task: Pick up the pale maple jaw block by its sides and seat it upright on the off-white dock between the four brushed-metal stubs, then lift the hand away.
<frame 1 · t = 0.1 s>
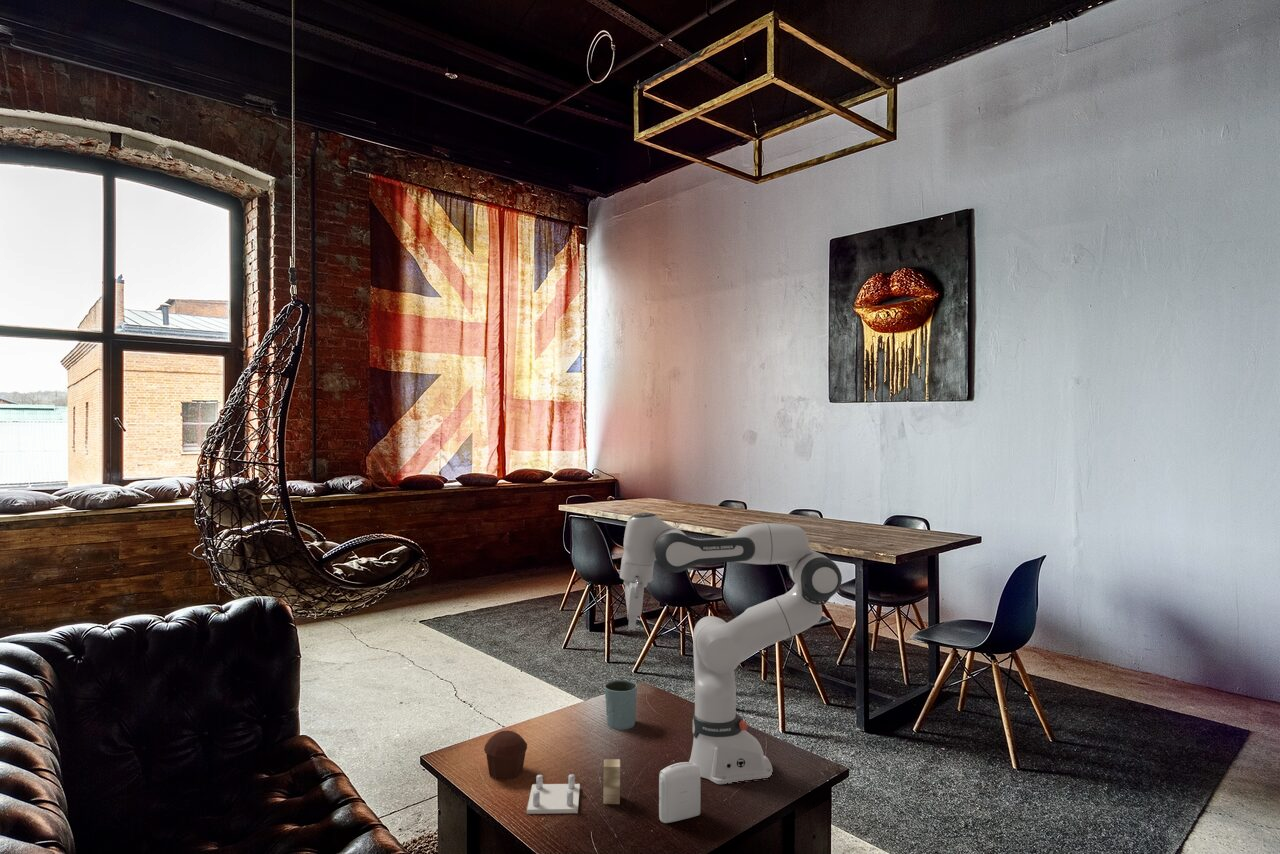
hand: (630, 624, 190), 39 cm above the table, tool pointing down, fingers open, 8 cm apart
photo printer: (679, 817, 166), on the table
dock: (554, 800, 173), on the table
teal cup: (620, 724, 218), on the table
muffin: (505, 772, 187), on the table
jaw block: (611, 799, 173), on the table
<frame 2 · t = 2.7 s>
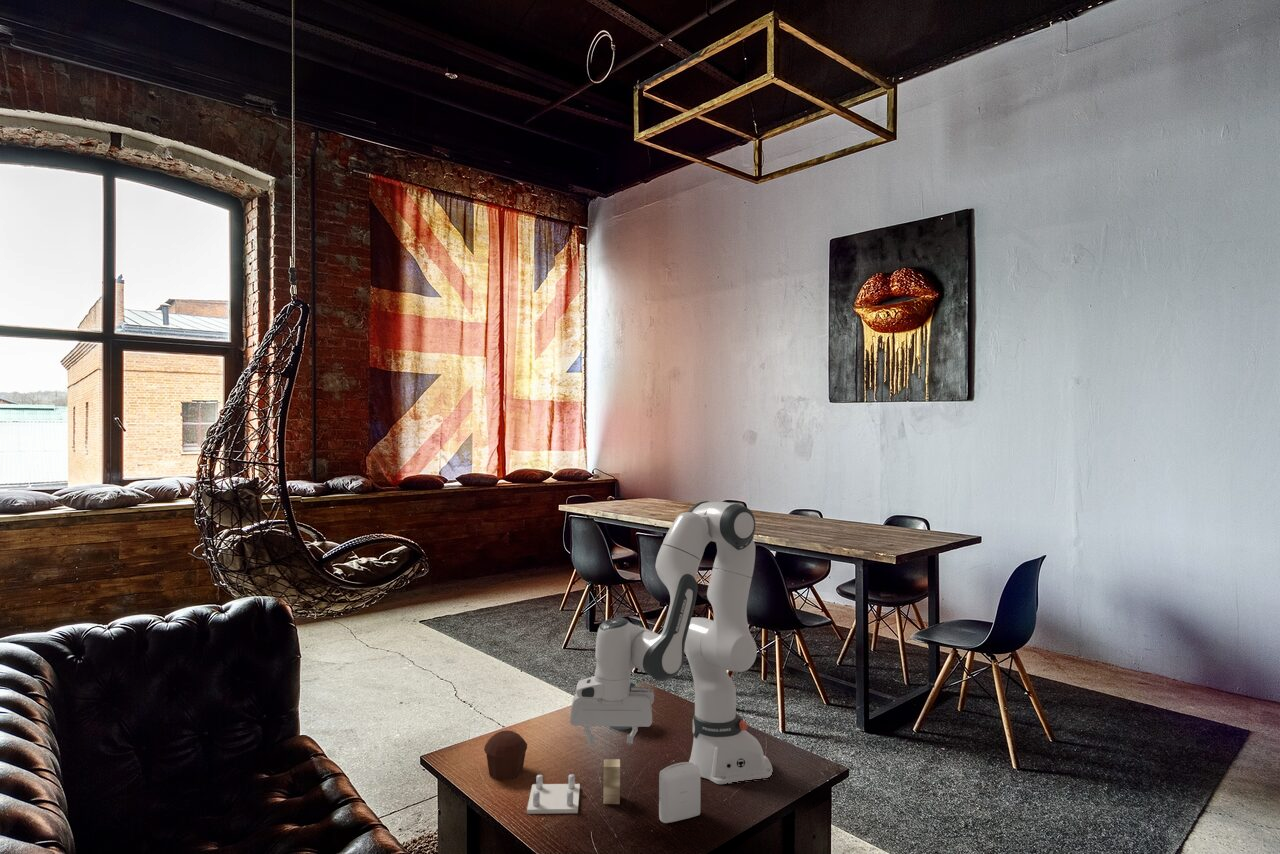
hand: (610, 743, 173), 14 cm above the table, tool pointing down, fingers open, 8 cm apart
nothing on the table moved.
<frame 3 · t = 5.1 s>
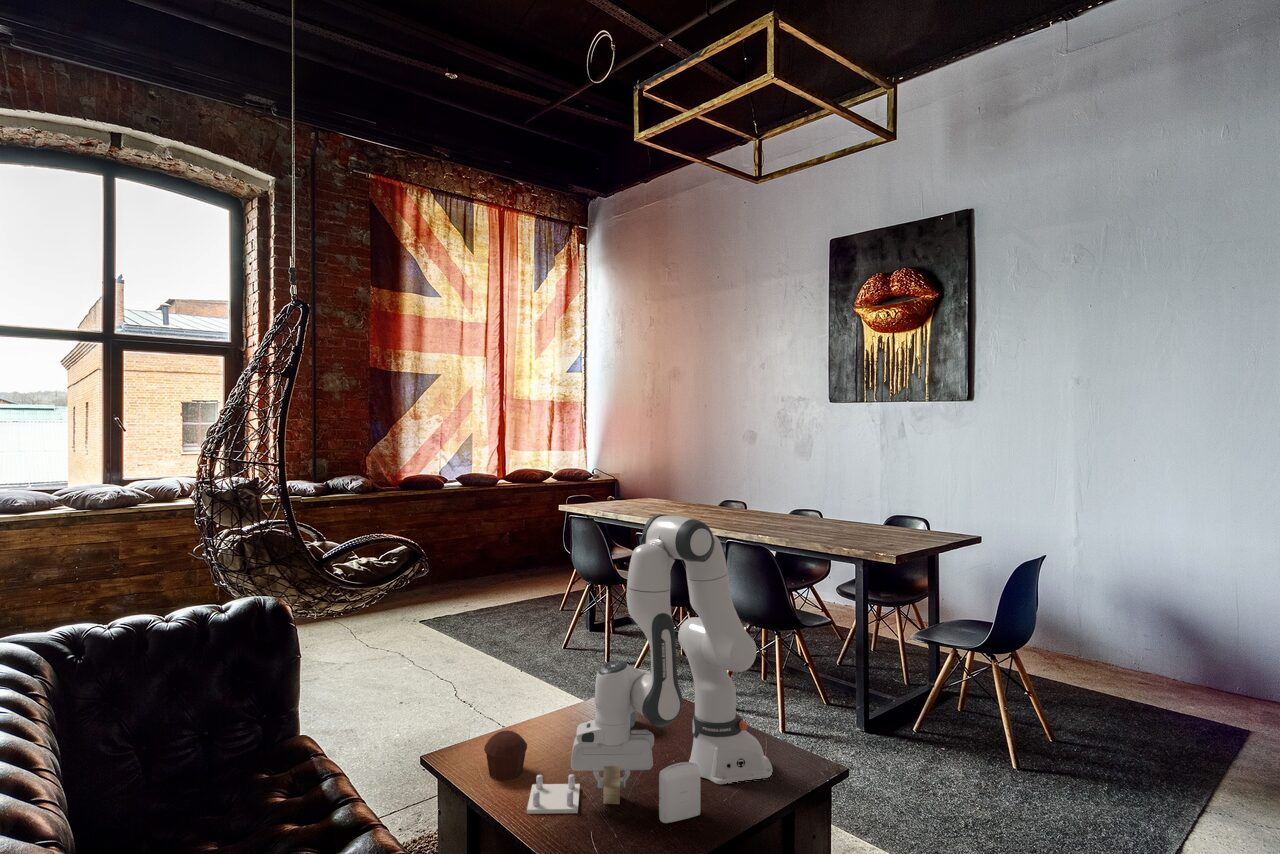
hand: (611, 786, 173), 3 cm above the table, tool pointing down, fingers closed on jaw block, 4 cm apart
jaw block: (611, 799, 173), on the table, touching gripper
everything else where it was.
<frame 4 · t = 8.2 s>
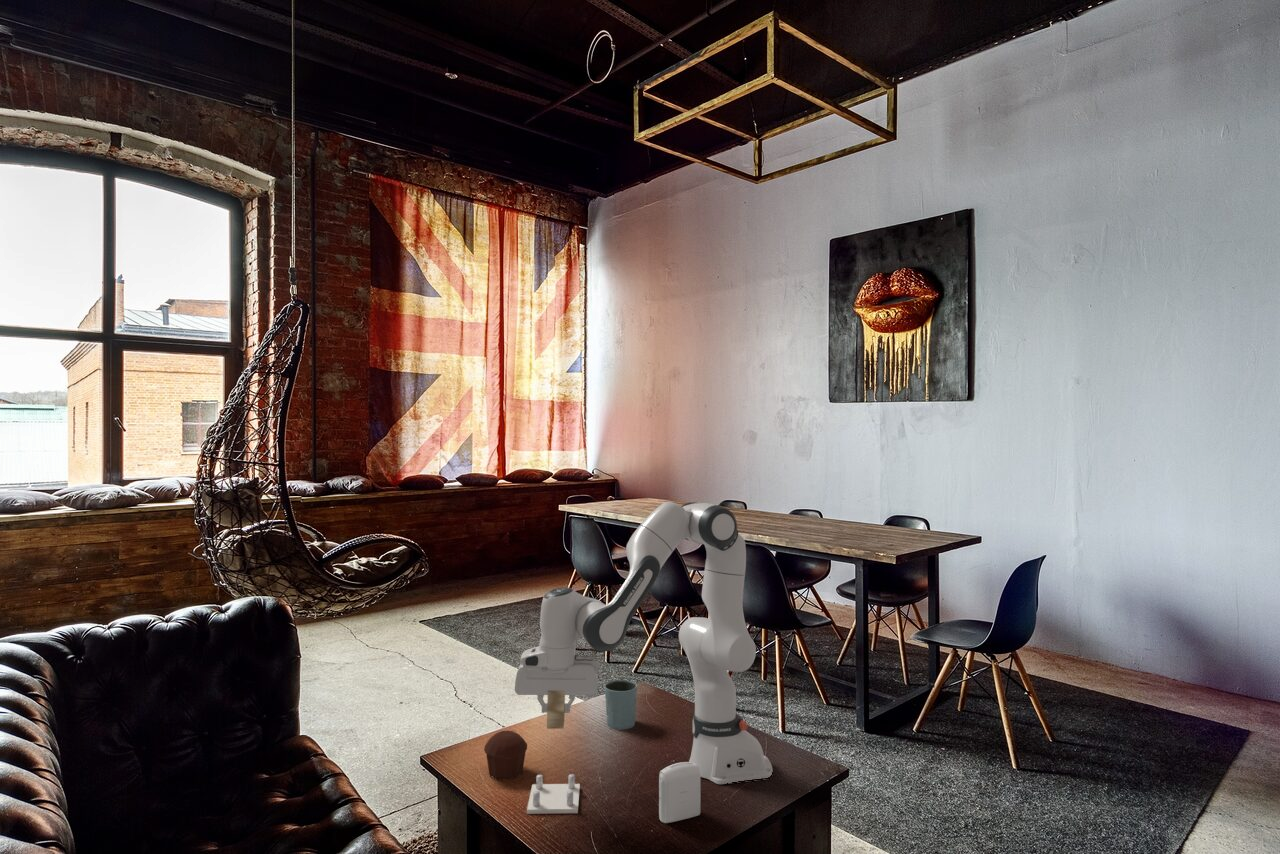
hand: (555, 712, 173), 22 cm above the table, tool pointing down, fingers closed on jaw block, 4 cm apart
jaw block: (555, 725, 173), point 18 cm above the table, touching gripper
everything else where it was.
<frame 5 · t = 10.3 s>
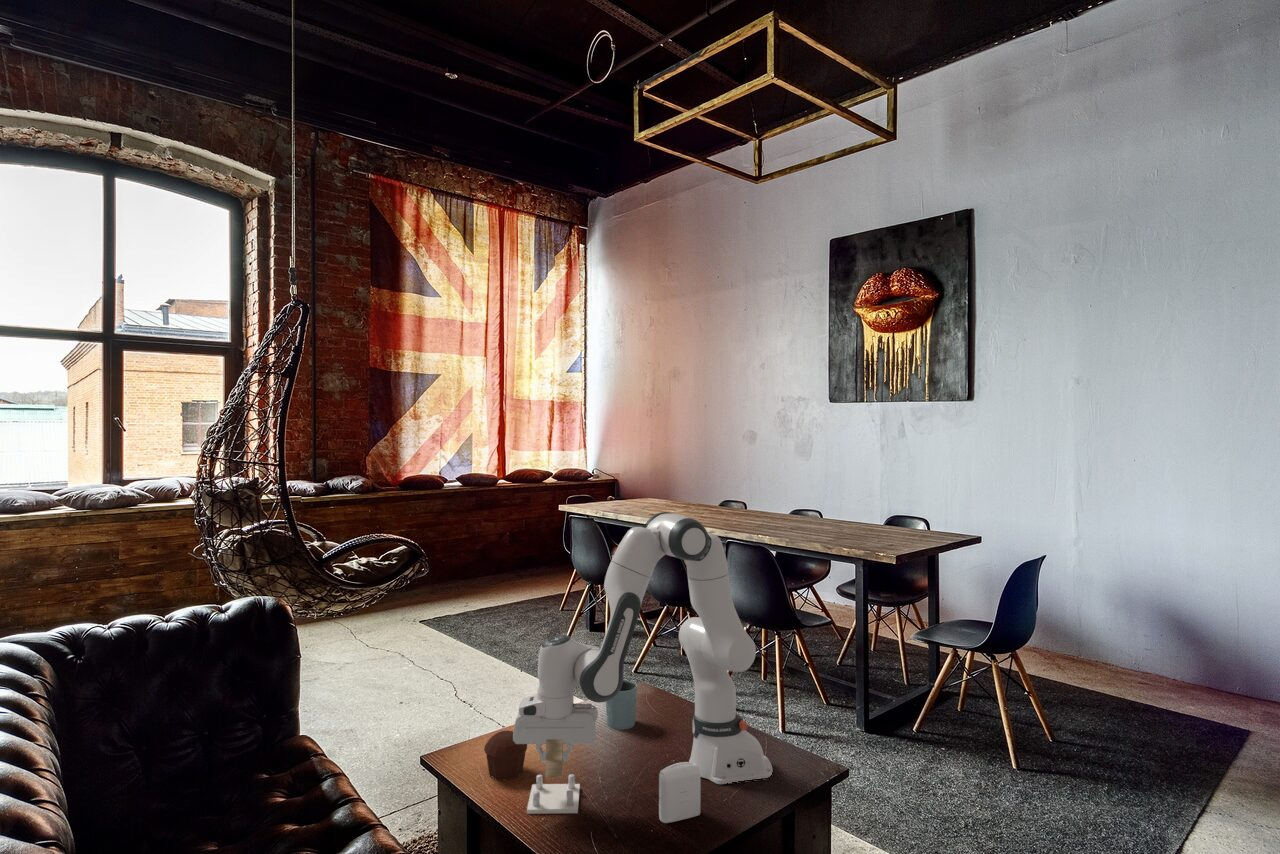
hand: (554, 760, 173), 10 cm above the table, tool pointing down, fingers closed on jaw block, 4 cm apart
jaw block: (554, 773, 172), point 7 cm above the table, touching gripper
everything else where it was.
when the fingers open (6 cm above the table, at t = 11.8 s): jaw block drops 1 cm, resting on dock.
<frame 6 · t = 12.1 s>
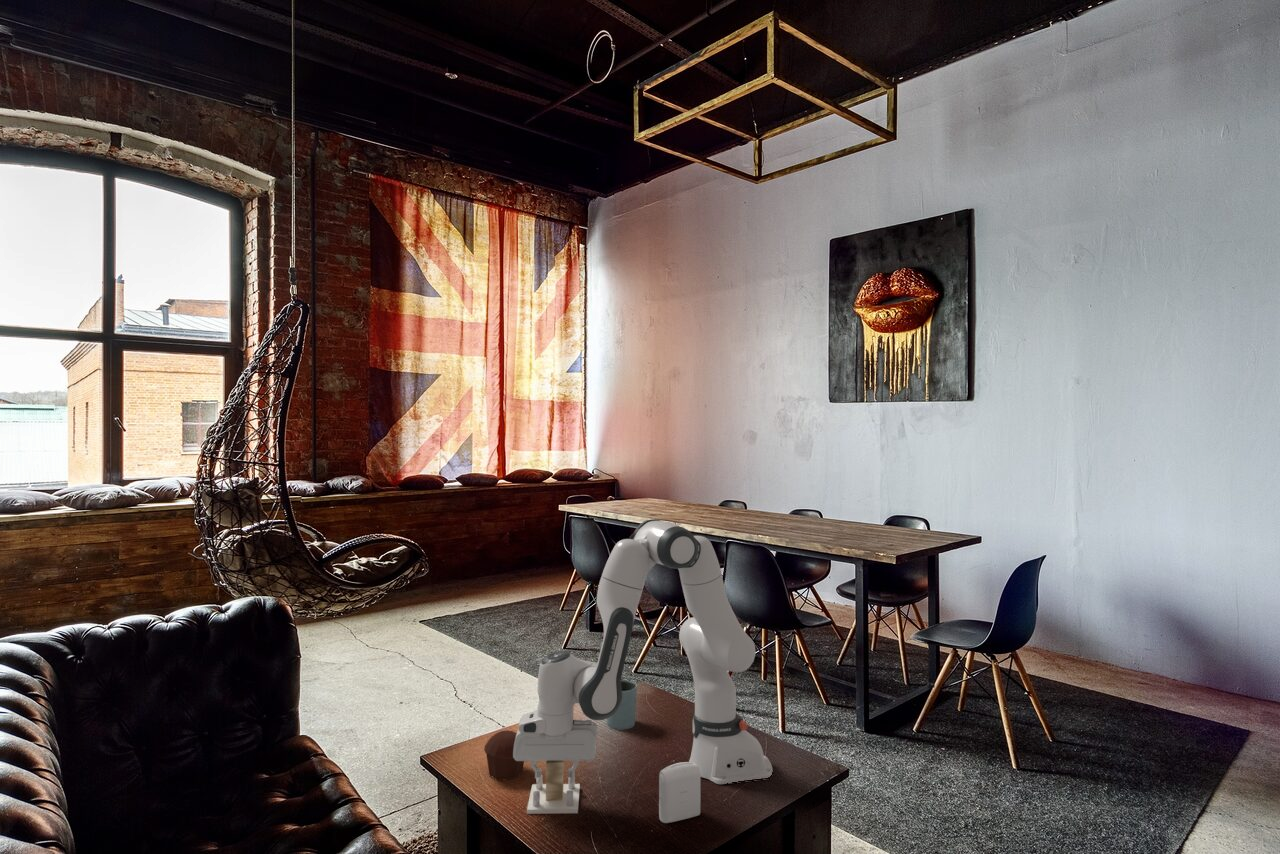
hand: (554, 777, 173), 6 cm above the table, tool pointing down, fingers open, 7 cm apart
jaw block: (554, 796, 173), point 1 cm above the table, touching dock
everything else where it was.
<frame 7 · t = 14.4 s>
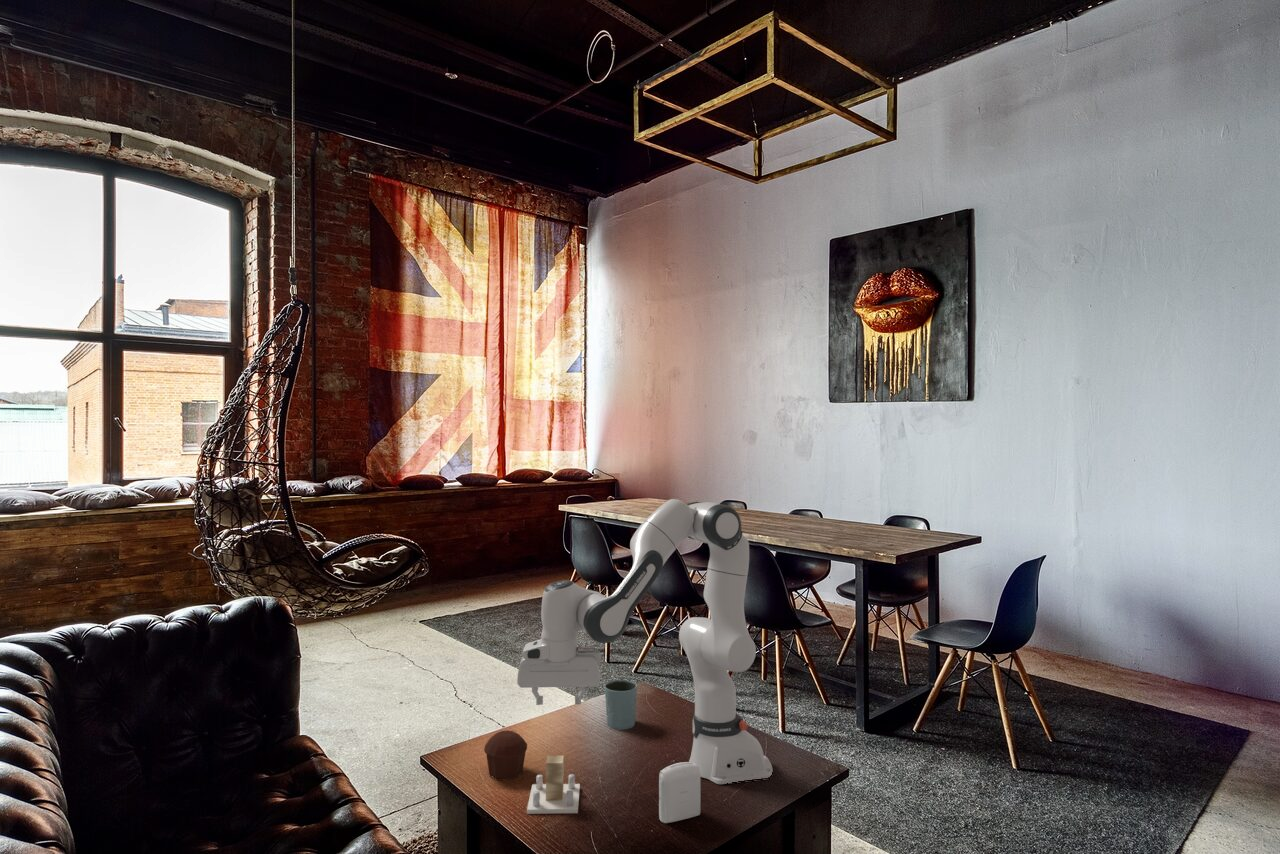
hand: (558, 703, 174), 23 cm above the table, tool pointing down, fingers open, 8 cm apart
nothing on the table moved.
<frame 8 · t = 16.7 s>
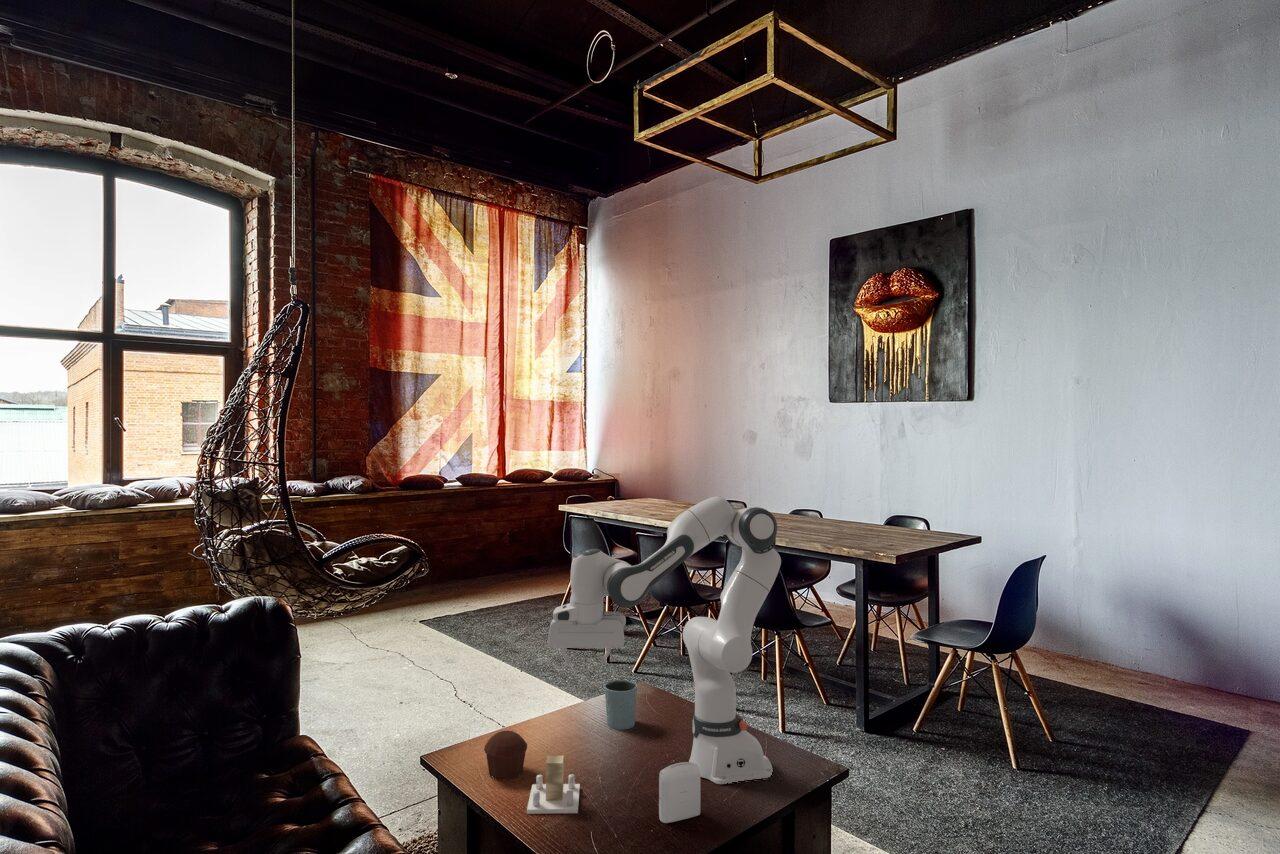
hand: (585, 663, 186), 29 cm above the table, tool pointing down, fingers open, 8 cm apart
nothing on the table moved.
at the end: jaw block 0.1 cm off-centre on the dock, point 1.0 cm above the dock's base; jaw block tilted 0°; the gripper is holding nothing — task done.
